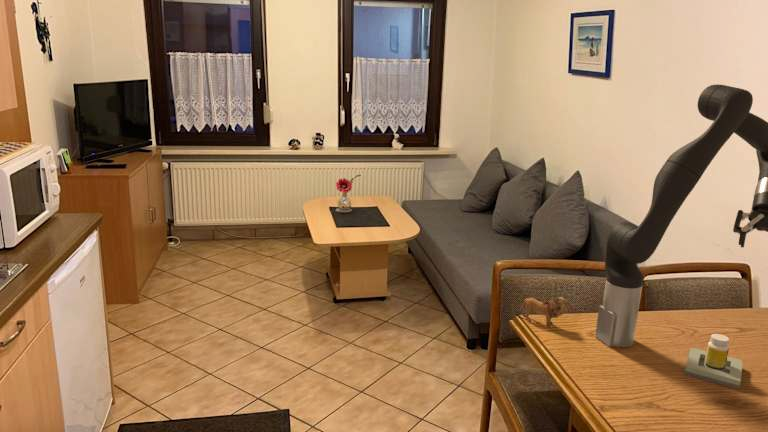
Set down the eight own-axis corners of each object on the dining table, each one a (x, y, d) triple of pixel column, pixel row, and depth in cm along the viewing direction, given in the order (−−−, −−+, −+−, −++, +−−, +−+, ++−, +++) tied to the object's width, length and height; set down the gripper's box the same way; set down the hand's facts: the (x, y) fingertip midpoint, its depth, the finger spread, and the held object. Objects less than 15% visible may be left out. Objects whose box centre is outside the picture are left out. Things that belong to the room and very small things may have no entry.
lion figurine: (566, 324, 179) (570, 296, 176) (562, 331, 174) (566, 302, 172) (517, 313, 185) (519, 285, 183) (511, 319, 181) (514, 291, 178)
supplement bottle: (727, 373, 153) (733, 342, 150) (706, 370, 154) (712, 340, 151) (721, 363, 157) (727, 334, 155) (701, 361, 158) (707, 331, 156)
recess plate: (739, 389, 148) (740, 381, 147) (684, 374, 153) (685, 366, 153) (740, 367, 158) (742, 360, 157) (689, 354, 163) (690, 347, 163)
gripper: (741, 186, 169) (731, 237, 163) (803, 194, 162) (795, 247, 156) (738, 201, 175) (729, 250, 168) (798, 209, 168) (790, 261, 161)
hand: (760, 249), depth 162 cm, fingers open, 8 cm apart
